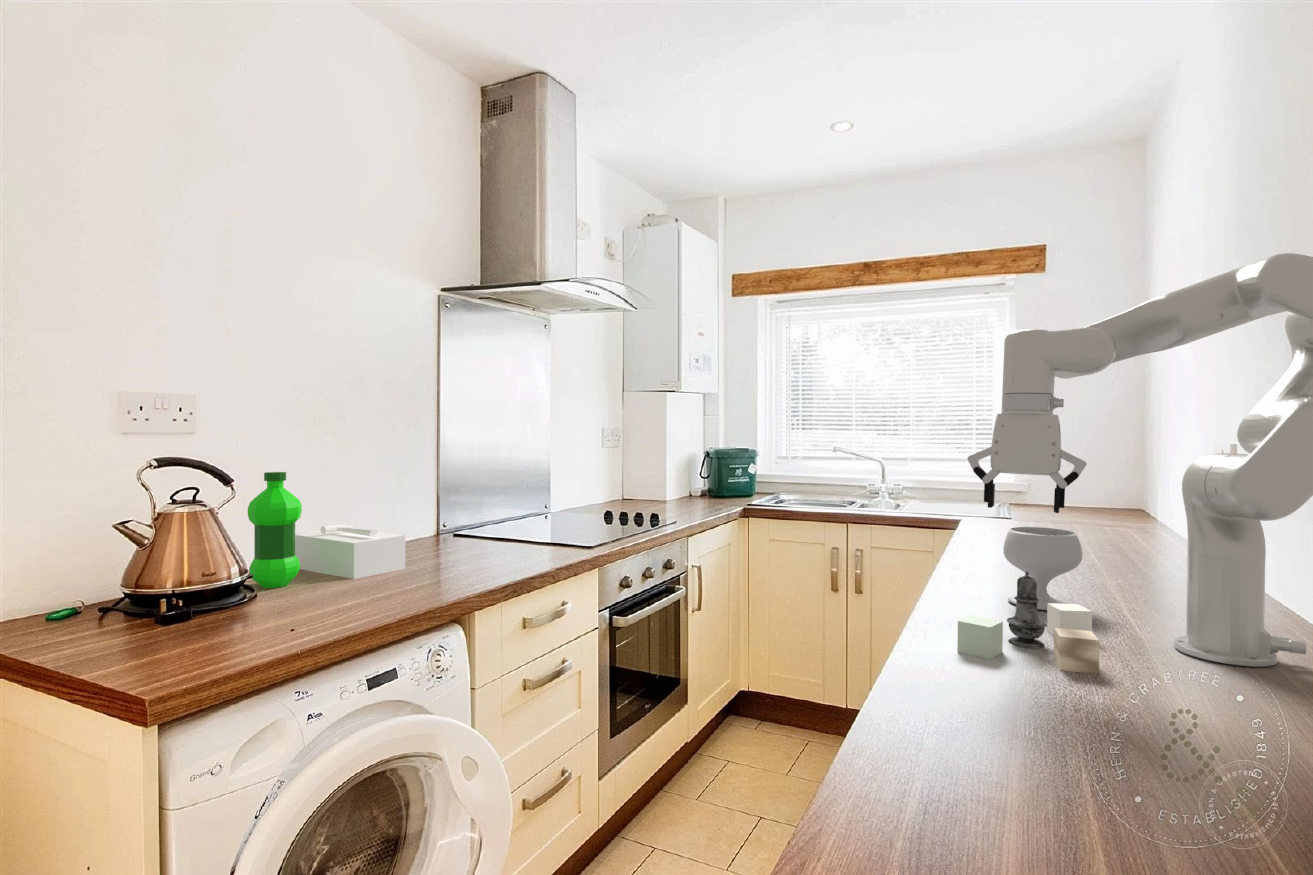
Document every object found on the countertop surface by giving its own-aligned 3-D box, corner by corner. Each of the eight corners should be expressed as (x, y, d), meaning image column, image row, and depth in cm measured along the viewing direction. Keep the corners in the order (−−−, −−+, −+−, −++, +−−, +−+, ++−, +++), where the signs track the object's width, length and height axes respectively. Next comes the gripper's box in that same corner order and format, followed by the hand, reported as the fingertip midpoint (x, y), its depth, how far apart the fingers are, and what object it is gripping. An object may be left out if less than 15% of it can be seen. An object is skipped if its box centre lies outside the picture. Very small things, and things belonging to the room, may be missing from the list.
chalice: (1066, 617, 132) (1067, 538, 132) (991, 603, 142) (991, 530, 142) (1092, 606, 141) (1092, 531, 141) (1019, 593, 151) (1019, 524, 151)
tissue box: (342, 559, 188) (342, 518, 188) (405, 569, 175) (405, 526, 175) (290, 568, 175) (290, 525, 175) (354, 580, 162) (354, 533, 162)
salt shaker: (1052, 650, 112) (1052, 575, 112) (1012, 647, 113) (1013, 573, 113) (1039, 639, 118) (1040, 568, 118) (1002, 637, 119) (1002, 566, 119)
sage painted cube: (1002, 652, 111) (1002, 621, 111) (990, 659, 107) (990, 627, 107) (970, 645, 114) (970, 615, 114) (957, 652, 111) (957, 620, 111)
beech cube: (1091, 664, 106) (1091, 631, 106) (1098, 674, 101) (1099, 640, 101) (1053, 660, 107) (1054, 627, 107) (1059, 670, 103) (1059, 636, 103)
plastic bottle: (286, 590, 150) (286, 474, 150) (237, 590, 150) (237, 473, 150) (310, 580, 160) (310, 471, 160) (264, 580, 160) (264, 471, 160)
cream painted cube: (1077, 632, 122) (1077, 604, 122) (1091, 641, 117) (1092, 611, 117) (1047, 631, 123) (1047, 603, 123) (1060, 640, 118) (1060, 610, 118)
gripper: (1088, 407, 114) (1084, 512, 114) (972, 406, 123) (968, 503, 123) (1089, 405, 108) (1084, 516, 108) (967, 404, 116) (963, 506, 117)
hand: (1022, 509), depth 115 cm, fingers open, 9 cm apart
